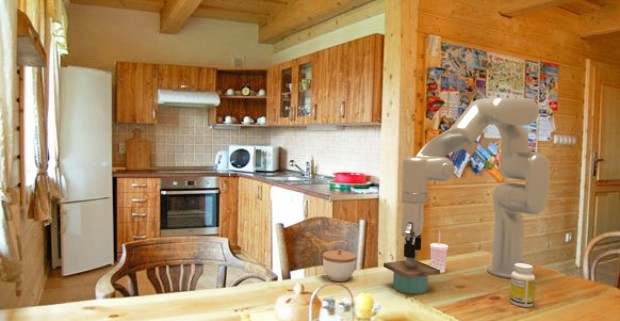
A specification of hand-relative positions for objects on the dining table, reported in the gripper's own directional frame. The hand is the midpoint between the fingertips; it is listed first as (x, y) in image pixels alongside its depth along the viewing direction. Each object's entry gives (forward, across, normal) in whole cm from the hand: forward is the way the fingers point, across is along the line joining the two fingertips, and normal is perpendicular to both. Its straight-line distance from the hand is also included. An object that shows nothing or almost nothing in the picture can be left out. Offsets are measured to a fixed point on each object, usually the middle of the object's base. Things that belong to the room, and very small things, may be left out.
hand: (412, 253), depth 136 cm
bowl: (+11, 0, 0) cm, 11 cm away
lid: (+5, 0, 0) cm, 5 cm away
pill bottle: (+11, -2, +31) cm, 33 cm away
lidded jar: (+11, +2, -23) cm, 25 cm away
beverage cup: (+11, -23, +5) cm, 26 cm away
